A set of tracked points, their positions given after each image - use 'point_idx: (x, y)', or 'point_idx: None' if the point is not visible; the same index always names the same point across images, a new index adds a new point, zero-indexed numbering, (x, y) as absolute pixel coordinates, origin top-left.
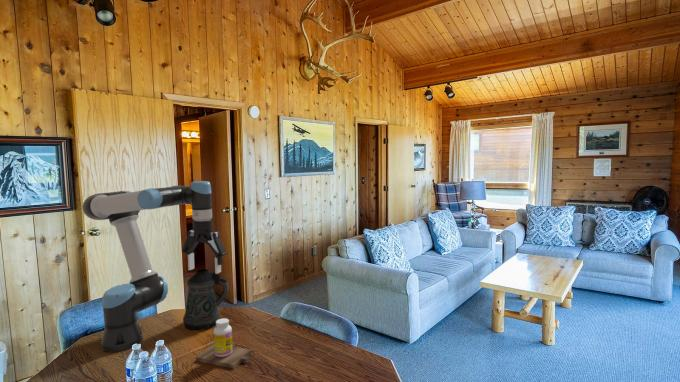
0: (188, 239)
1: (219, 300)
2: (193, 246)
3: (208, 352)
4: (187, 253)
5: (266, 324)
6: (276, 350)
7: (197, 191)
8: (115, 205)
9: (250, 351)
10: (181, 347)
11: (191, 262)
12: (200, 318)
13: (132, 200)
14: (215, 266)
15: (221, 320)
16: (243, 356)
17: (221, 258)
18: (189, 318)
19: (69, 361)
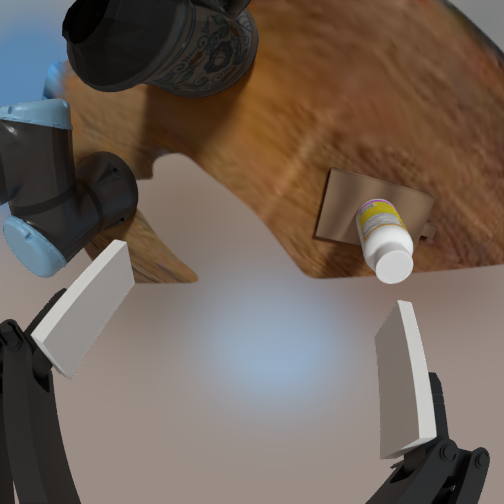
0: (10, 487)
1: (240, 7)
2: (62, 463)
3: (336, 215)
4: (49, 376)
5: (418, 32)
6: (479, 181)
7: None
8: None
9: (433, 200)
10: (241, 180)
11: (100, 308)
12: (217, 83)
13: None
14: (382, 386)
15: (391, 266)
16: (424, 227)
17: (441, 429)
18: (181, 92)
19: (99, 251)
